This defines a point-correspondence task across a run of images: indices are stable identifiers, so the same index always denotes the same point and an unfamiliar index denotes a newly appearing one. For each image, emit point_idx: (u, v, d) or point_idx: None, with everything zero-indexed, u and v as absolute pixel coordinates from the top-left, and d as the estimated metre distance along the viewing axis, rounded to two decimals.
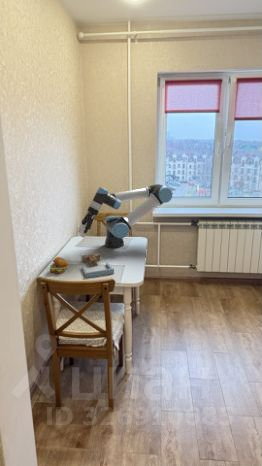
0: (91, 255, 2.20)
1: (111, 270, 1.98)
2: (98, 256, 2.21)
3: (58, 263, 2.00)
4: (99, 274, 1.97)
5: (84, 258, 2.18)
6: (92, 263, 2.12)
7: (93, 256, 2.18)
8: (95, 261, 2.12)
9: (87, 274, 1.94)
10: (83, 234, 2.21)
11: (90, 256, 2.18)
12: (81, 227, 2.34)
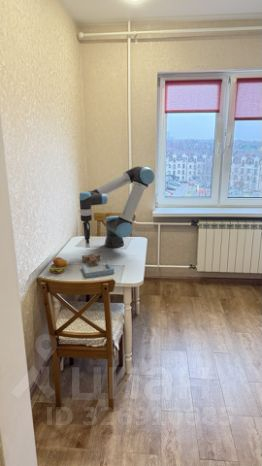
0: (91, 255, 2.20)
1: (111, 270, 1.98)
2: (98, 256, 2.21)
3: (58, 263, 2.00)
4: (99, 274, 1.97)
5: (84, 258, 2.18)
6: (92, 263, 2.12)
7: (93, 256, 2.18)
8: (95, 261, 2.12)
9: (87, 274, 1.94)
10: (87, 244, 2.27)
11: (90, 256, 2.18)
12: None
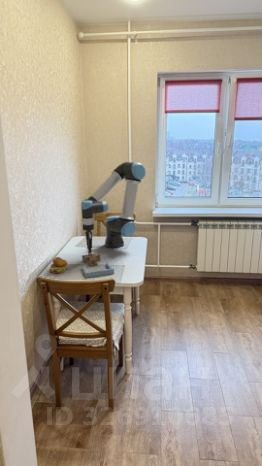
0: (91, 255, 2.20)
1: (111, 270, 1.98)
2: (98, 256, 2.20)
3: (57, 263, 2.00)
4: (99, 274, 1.97)
5: (84, 258, 2.18)
6: (92, 263, 2.12)
7: (93, 256, 2.18)
8: (95, 261, 2.12)
9: (87, 274, 1.94)
10: None
11: (90, 256, 2.18)
12: None
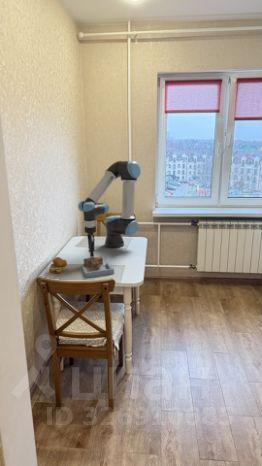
0: (93, 258, 2.14)
1: (111, 270, 1.98)
2: (100, 259, 2.14)
3: (57, 263, 2.00)
4: (99, 274, 1.97)
5: (86, 261, 2.11)
6: (94, 267, 2.05)
7: (95, 260, 2.12)
8: (97, 265, 2.06)
9: (87, 274, 1.94)
10: (91, 257, 2.16)
11: (92, 259, 2.12)
12: None
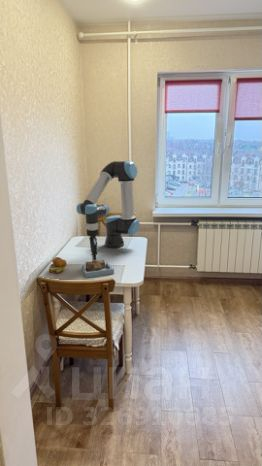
0: (95, 262, 2.08)
1: (111, 270, 1.98)
2: (103, 263, 2.08)
3: (57, 263, 2.00)
4: (99, 274, 1.97)
5: (88, 265, 2.05)
6: None
7: (97, 263, 2.05)
8: (100, 269, 1.99)
9: (87, 274, 1.94)
10: None
11: (94, 263, 2.06)
12: None
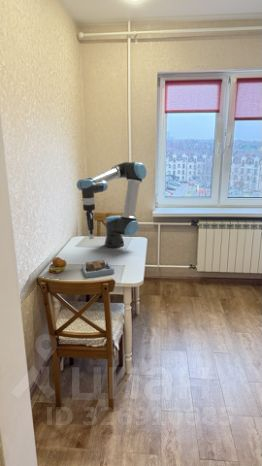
0: (95, 262, 2.08)
1: (111, 270, 1.98)
2: (103, 263, 2.08)
3: (57, 263, 2.00)
4: (99, 274, 1.97)
5: (88, 265, 2.05)
6: None
7: (97, 263, 2.05)
8: (100, 269, 1.99)
9: (87, 274, 1.94)
10: (91, 236, 2.12)
11: (94, 263, 2.06)
12: None
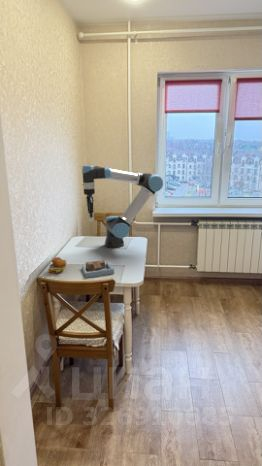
0: (95, 262, 2.08)
1: (111, 270, 1.98)
2: (103, 263, 2.08)
3: (57, 263, 2.00)
4: (99, 274, 1.97)
5: (88, 265, 2.05)
6: None
7: (97, 263, 2.05)
8: (100, 269, 1.99)
9: (87, 274, 1.94)
10: (90, 219, 2.27)
11: (94, 263, 2.06)
12: None
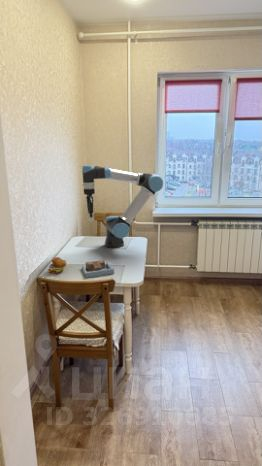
0: (95, 262, 2.08)
1: (111, 270, 1.98)
2: (103, 263, 2.08)
3: (56, 263, 2.00)
4: (99, 274, 1.97)
5: (88, 265, 2.05)
6: None
7: (97, 263, 2.05)
8: (100, 269, 1.99)
9: (87, 274, 1.94)
10: (90, 219, 2.27)
11: (94, 263, 2.06)
12: None
